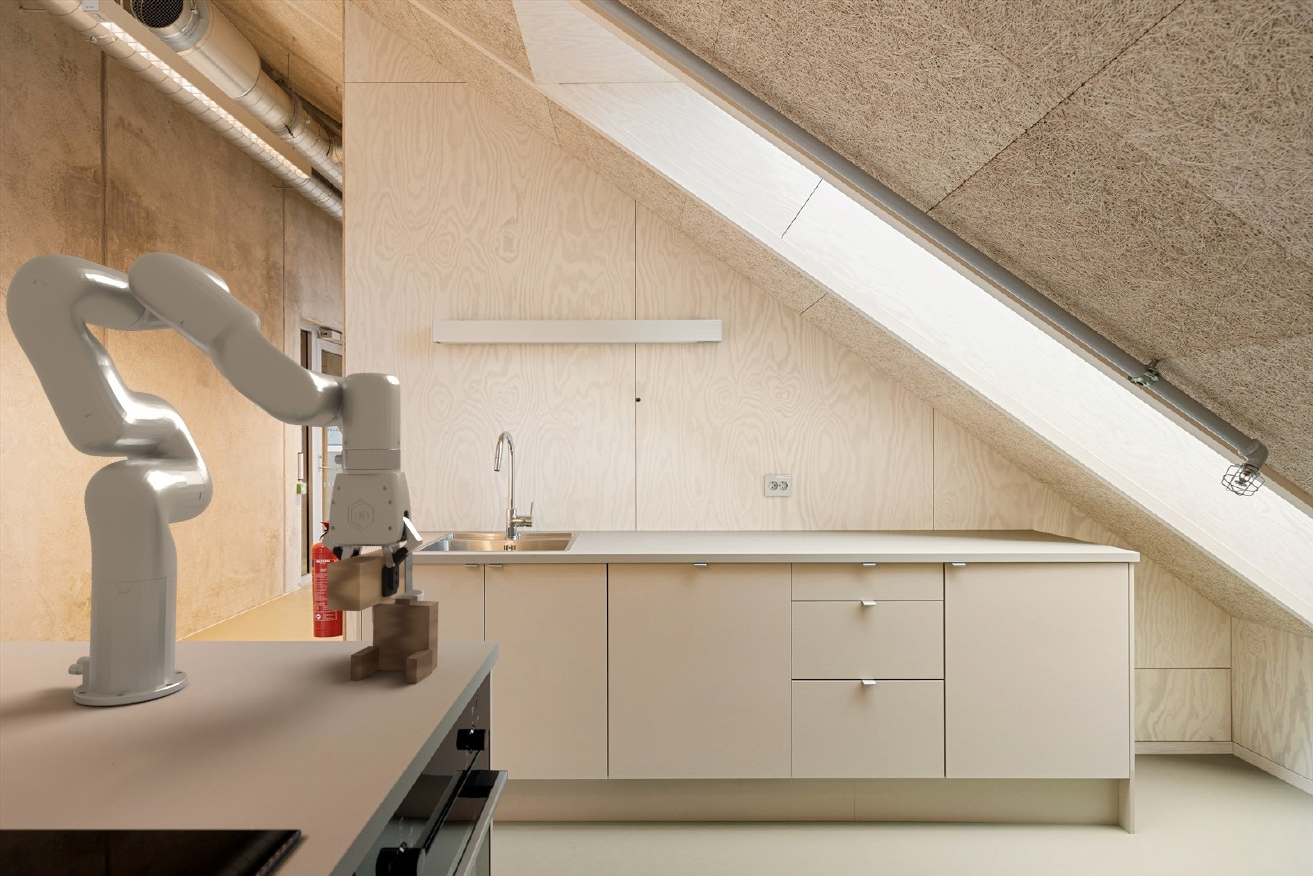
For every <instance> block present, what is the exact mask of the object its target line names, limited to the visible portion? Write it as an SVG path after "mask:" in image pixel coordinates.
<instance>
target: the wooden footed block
mask: <svg viewBox="0 0 1313 876" xmlns="http://www.w3.org/2000/svg"><path fill="white" fill-rule="evenodd" d="M438 632H439V601H432V600H431V601H430V600H429V601H428V600H423V601H417V596H406V595H402V596H400V597H398V598H395V600H389V599H388V600H386V601H383V602H381V603H379V604H376V605H374V611H373V622H372V645H368V646H366V647H365V648H362V649H360V650H358V651H356V652H354V653H353V654H350V671H349V672H350V673H349V674H350V675H349V676H350V677H349V678H350V679H349V680H352V681H353V680H354V681H355V680H356V681H361V680H363V679H366V677H368V676H371V675H372V674H374V673H376V672H377V671H393V672H394V671H395V672H405V674H406V675H405V677H406V679H405V683H407V684H418V683H420V682H421V681H423V680H424V679H425V678H427V677H429V676H430V675H431V674H432V673H433V670H435V669H436V668H438V641H439V633H438Z"/></svg>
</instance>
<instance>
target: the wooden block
mask: <svg viewBox="0 0 1313 876" xmlns="http://www.w3.org/2000/svg"><path fill="white" fill-rule="evenodd" d="M326 565H327V566H326V567H327V568H326V569H327V571H326V574H327V575H326V577H327V580H326V581H327V582H326V583H327V584H326V586H327V587H326V591H327V592H326V594H327V595H326V598H327V599H326V601H327V603H326V604H327V608H326V610H327V611H333V612H334V611H335V612H336V611H337V612H340V611H341V612H345V611H346V612H361V611H364V610H367V609H369V608H372V606H374V605H376V604H379V603H381V602H383V601H386V600H388V599H391V598H393V597H396V596H398V595H401V594H403V593H406V592H409V591H411V590H413V589H414V588H413V582H414V581H413V551H412V552H411V553H410V554H409V555H408V556H407V557H406V558H405V559H404V561H403V563H402V564H400V565H399V588H398V589H397V593H396V594H394V595H391V596H389V597H383V596H382V568H384V567H385V560H384V556H383V552H382V548H379V549H378V550H377V549H376V550H374V551H371V552H366V553H361V555H358V556H354V557H351V558H347V559H343V560H336V561H333V562H330V563H326Z"/></svg>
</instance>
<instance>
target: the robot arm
mask: <svg viewBox="0 0 1313 876" xmlns="http://www.w3.org/2000/svg"><path fill="white" fill-rule="evenodd" d="M127 272H128V273H125V272H124V271H120V270H117V269H114V268H111V267H108V266H106V265H103V264H99V263H98V262H95V261H91V260H88V259H85V258H82V257H79V256H74V255H68V254H62V253H49V254H48V253H47V254H43V255H42V254H41V255H37V256H35V257H33V258H30V259H28V260H27V261H25V262H24V263H23V264H22V265H21V266H20V267H19V268H18V269H17V270H16V272H15V273H14V275H13V276H12V278H11V280H10V283H9V284H8V285H9V286H8V289H7V293H6V300H5V307H6V309H5V310H6V316H7V320H8V322H9V325H10V328H11V331H12V333H13V335H14V337H15V339H16V342H18V345H19V346H20V347H21V350H23V353H24V354H25V356H26V358H27V359H28V362H30V365H31V366H32V368H33V370H34V372H35V374H36V376H37V378H38V379H39V382H40V385H41V387H42V390H43V391H44V395H45V396H46V397H47V399H48V400H47V401H48V402H49V403H50V406H51V408H52V409H53V412H54V414H55V416H56V419H57V420H58V422H59V424H60V427H61V429H62V430H63V431H62V432H64V435H65V437H66V438H67V439H68V442H69V443H70V444H71V445H72V447H74V449H75V450H76V451H78V452H80V453H82V454H84V455H88V456H90V457H91V456H93V457H104V458H120V457H121V458H122V457H123V458H127V459H121V460H119V461H115V462H111V463H109V464H107V465H104V466H103V467H101V468H100V469H99V470H97V471H96V472H95V473H94V474H93V475H92V477H90V479H89V481H88V483H87V485H86V487H85V490H84V498H83V500H84V511H85V515H86V521H87V524H88V530H89V537H90V545H91V546H90V547H91V551H90V552H91V574H90V575H91V577H90V579H91V596H90V600H91V601H90V630H89V631H90V632H89V634H90V635H89V656H86V655H85V656H81V657H79V658H78V659H77V660H76V662H75V663H74V664H70V665H69V667H68V670H67V672H68V674H69V675H72V676H73V675H75V676H81V675H82V681H81V683H82V684H80V685H78V686H77V687H76V688H74V691H73V700H74V702H76V703H78V704H80V705H84V706H96V707H100V706H102V707H103V706H104V707H107V706H119V705H129V704H135V703H139V702H140V703H141V702H145V701H149V700H150V701H151V700H154V699H158V698H161V697H164V696H168V695H170V694H173V693H175V692H178V691H181V690H182V689H183V688H184V687H186V685H187V684H188V678H189V675H188V674H187V673H186V672H185V671H184V670H180V669H176V633H177V632H176V629H177V595H178V593H177V591H178V556H177V547H176V544H175V540H174V537H173V534H172V532H171V528H170V526H169V525H170V524H175V523H176V524H177V523H181V522H187V521H191V520H192V519H194V518H197V517H198V516H200V515H201V514H203V513H204V512H205V511H206V510H207V508H208V507H209V505H210V504H211V501H212V498H213V493H214V492H213V491H214V490H213V489H214V486H213V481H212V477H211V475H210V471H209V470H208V469H209V468H208V467H207V465H206V462H205V461H204V459H203V456H202V454H201V453H200V450H199V448H198V446H197V444H196V442H195V440H194V439H193V436H192V434H191V432H190V429H189V428H188V426H187V424H186V421H185V420H184V418H183V417H182V414H181V413H180V412H179V411H178V410H177V409H176V407H175V406H174V405H173V404H171V402H169V401H167V400H166V399H164V398H162V396H158V395H156V394H152V393H149V392H148V393H147V392H141V391H134V390H132V389H130V388H129V387H128V386H127V384H126V382H125V381H124V380H123V378H122V376H121V374H120V373H119V371H118V369H117V367H116V364H115V362H114V360H113V358H112V356H111V354H110V352H109V351H108V350H107V349H106V347H105V346H104V345H103V344H102V343H101V342H100V340H99V339H98V338H97V337H96V336H95V335H94V334H93V333H92V331H90V329H89V327H88V326H87V324H89V325H91V326H97V327H101V328H105V329H109V330H114V331H123V332H141V331H153V330H154V331H155V330H168V329H172V330H173V331H175V332H176V333H178V334H179V335H180V336H181V337H183V338H184V339H185V340H186V341H188V342H189V343H190V344H192V345H193V346H195V348H197V349H198V350H199V351H201V352H202V353H203V354H205V356H207V357H208V358H209V359H210V360H211V361H212V364H213V365H214V367H215V368H216V370H218V372H219V373H220V375H221V376H222V377H223V378H224V379H225V380H226V381H227V382H228V384H229V385H231V386H232V387H233V388H234V389H235V390H236V391H237V392H238V393H240V394H241V395H242V396H244V397H245V398H247V399H248V400H249V401H250V402H252V403H253V404H254V405H256V406H257V407H258V408H259V409H261V410H262V411H264V412H265V413H266V414H268V415H269V416H271V417H272V418H274V419H276V420H278V421H280V422H282V423H285V424H286V425H287V424H288V425H292V426H307V427H313V428H316V427H317V428H331V427H337V426H338V427H339V426H342V428H341V429H342V430H341V431H342V450H341V453H340V454H336V455H335V456H334V462H335V464H336V465H341V469H342V472H339V473H338V472H337V473H336V475H335V479H334V481H333V482H334V483H333V487H332V492H331V499H330V508H329V517H328V518H329V519H328V520H329V521H328V522H329V524H328V531H327V532H326V534H325V535H324V537H323V538H322V540H321V544H322V545H323V546H324V547H325V548H326V549H328V550H329V551H330V552H332V554H333V556H335V557H336V558H337V559H338V561H340V560H343V559H347V558H351V557H354V556H358V555H362V550H363V547H380V548H381V549H382V552H383V556H384V560H385V567H384V568H382V596H383V597H389V596H391V595H394V594H396V593H397V589H398V588H399V565H400V564H402V563H403V561H404V559H405V558H406V557H407V556H408V555H409V554H410V553H411V552H412V553H413V551H416V549H418V548H419V547H420V546H422V545H423V538H422V537H421V536H420V535H419V533H418V532H417V531H416V529H415V527H414V526H413V524H412V508H411V507H412V506H411V498H410V492H409V485H408V481H407V477H406V472H403V471H401V466H402V465H401V464H402V463H401V458H402V457H401V456H402V454H401V423H402V422H401V384H400V381H399V379H398V378H397V377H396V376H394V375H392V374H389V373H380V372H358V373H357V372H355V373H350V374H348V375H347V376H345V377H344V376H337V375H331V374H327V373H323V372H320V371H316V370H312V369H307V368H305V367H303V366H302V365H300V364H299V363H298V362H296V361H295V360H293V359H292V358H291V357H290V356H288V355H287V354H286V353H285V352H284V351H282V350H281V349H279V348H278V347H277V346H275V344H273V343H272V342H271V341H270V340H268V339H267V338H266V337H265V335H263V333H262V332H261V327H262V326H261V319H260V317H259V316H258V314H257V313H256V312H255V311H254V310H252V309H251V308H250V307H249V306H247V305H246V304H244V303H243V301H240V300H239V299H238V298H237V297H235V296H234V295H233V294H231V291H230V287H229V286H228V284H227V282H226V281H225V280H224V279H223V277H222V276H220V274H218V273H217V272H215V271H214V270H212V269H210V268H208V267H206V266H203V265H201V264H199V263H197V262H195V261H192V260H189V259H187V258H185V257H182V256H180V255H178V254H176V253H175V254H174V253H171V252H170V253H168V252H163V251H162V252H161V251H157V252H150V253H147V254H144V255H142V256H139V257H138V258H137V259H135V261H134V262H133V263H132V264H131V265H130V267H129V269H128V271H127ZM405 542H406V543H405ZM400 543H405V544H403V545H402V546H401V545H400Z"/></svg>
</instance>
